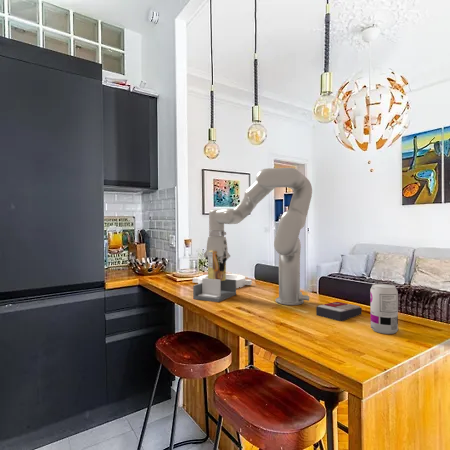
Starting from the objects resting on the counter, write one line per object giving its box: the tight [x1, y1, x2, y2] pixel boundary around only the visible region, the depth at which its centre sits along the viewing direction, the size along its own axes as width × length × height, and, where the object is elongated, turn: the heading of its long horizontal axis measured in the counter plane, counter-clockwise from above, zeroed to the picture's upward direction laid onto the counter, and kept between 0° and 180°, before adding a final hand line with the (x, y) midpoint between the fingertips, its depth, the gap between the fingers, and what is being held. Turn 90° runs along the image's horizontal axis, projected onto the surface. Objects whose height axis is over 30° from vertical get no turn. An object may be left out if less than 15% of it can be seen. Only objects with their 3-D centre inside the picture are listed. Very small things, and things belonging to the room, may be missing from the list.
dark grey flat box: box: [315, 301, 362, 322], centre depth 126 cm, size 11×4×15 cm
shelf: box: [192, 278, 237, 303], centre depth 159 cm, size 14×18×10 cm
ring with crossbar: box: [192, 273, 253, 289], centre depth 191 cm, size 28×28×5 cm
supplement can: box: [369, 283, 399, 335], centre depth 107 cm, size 8×8×15 cm
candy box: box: [207, 251, 227, 281], centre depth 161 cm, size 9×4×15 cm, turn 133°
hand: (216, 270), depth 161 cm, fingers closed on candy box, 5 cm apart
